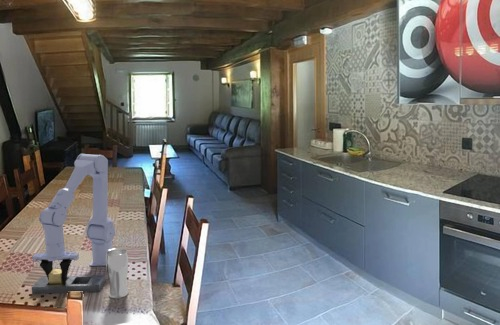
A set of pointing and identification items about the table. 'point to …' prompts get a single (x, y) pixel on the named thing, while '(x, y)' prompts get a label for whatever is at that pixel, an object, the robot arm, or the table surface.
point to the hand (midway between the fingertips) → (57, 279)
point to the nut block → (56, 277)
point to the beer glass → (117, 272)
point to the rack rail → (70, 284)
